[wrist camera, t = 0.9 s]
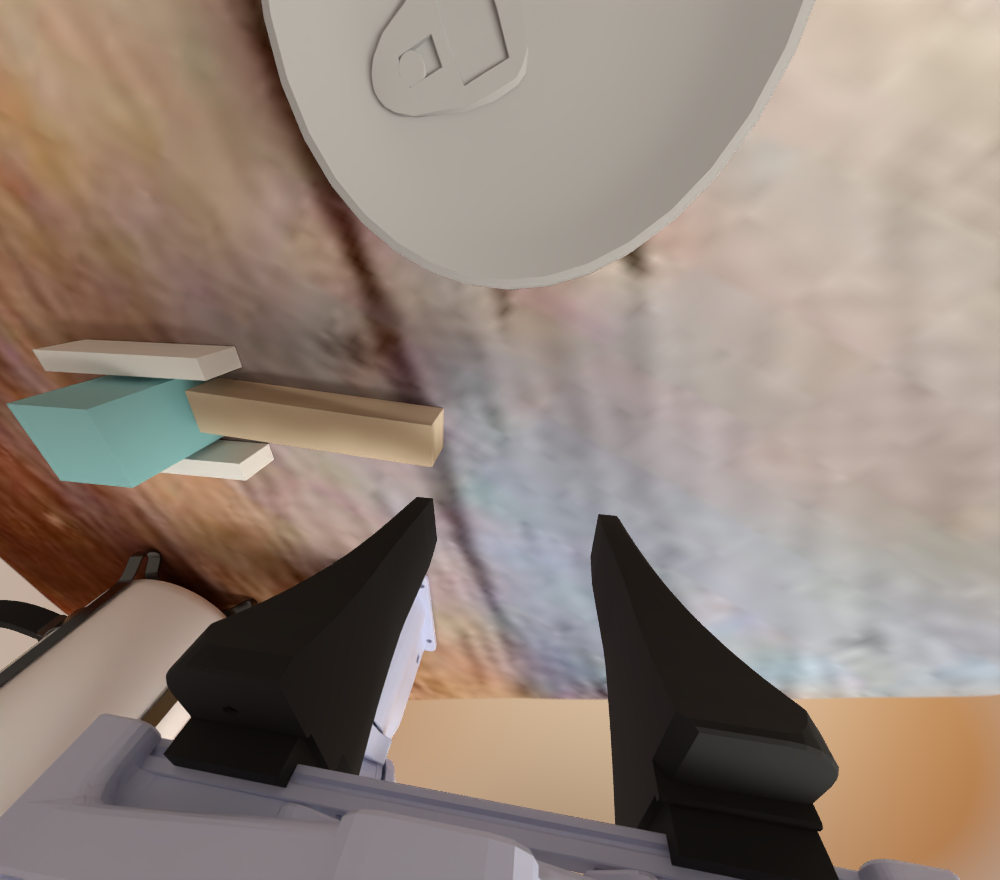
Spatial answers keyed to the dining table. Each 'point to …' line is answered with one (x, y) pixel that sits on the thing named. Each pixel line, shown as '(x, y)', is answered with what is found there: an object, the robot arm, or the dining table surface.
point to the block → (113, 428)
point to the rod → (319, 420)
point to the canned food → (526, 119)
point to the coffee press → (95, 668)
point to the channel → (172, 364)
